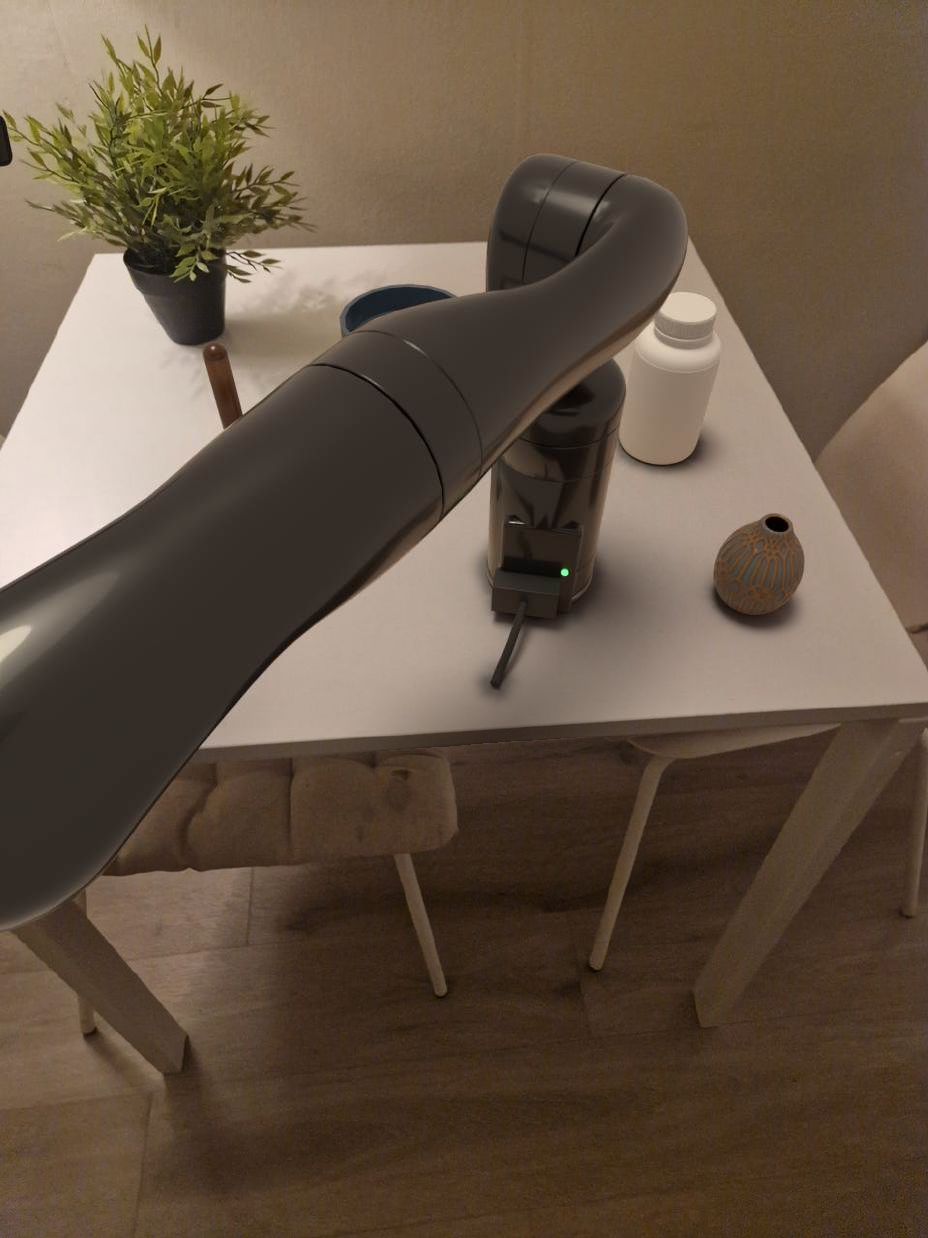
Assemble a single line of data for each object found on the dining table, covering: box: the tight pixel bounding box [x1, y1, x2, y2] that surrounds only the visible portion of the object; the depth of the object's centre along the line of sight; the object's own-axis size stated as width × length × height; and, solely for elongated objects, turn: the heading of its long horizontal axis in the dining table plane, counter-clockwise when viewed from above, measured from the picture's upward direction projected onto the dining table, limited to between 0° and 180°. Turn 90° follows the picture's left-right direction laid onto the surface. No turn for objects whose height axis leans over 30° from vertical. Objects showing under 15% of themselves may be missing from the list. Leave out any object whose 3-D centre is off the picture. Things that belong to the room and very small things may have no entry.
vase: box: [713, 512, 805, 616], centre depth 65 cm, size 7×7×9 cm
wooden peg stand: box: [202, 341, 244, 431], centre depth 66 cm, size 5×5×19 cm
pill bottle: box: [618, 291, 723, 466], centre depth 76 cm, size 8×8×15 cm
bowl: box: [339, 283, 459, 339], centre depth 88 cm, size 14×14×6 cm
